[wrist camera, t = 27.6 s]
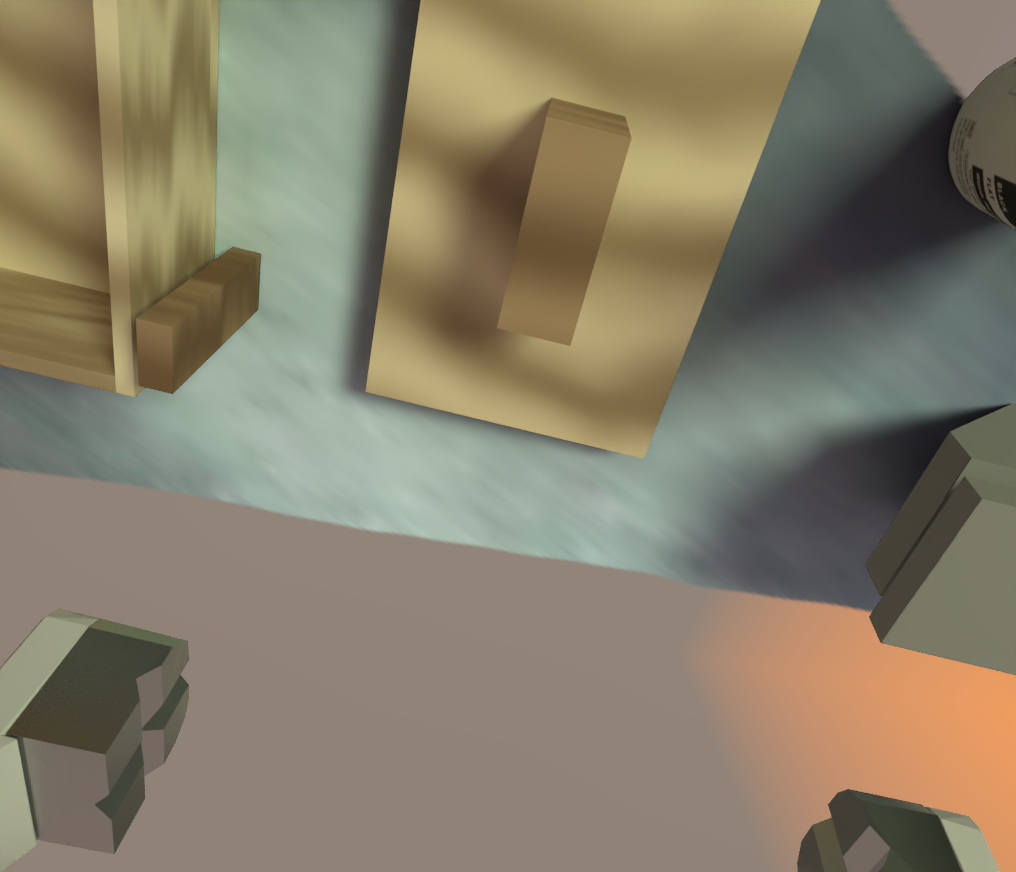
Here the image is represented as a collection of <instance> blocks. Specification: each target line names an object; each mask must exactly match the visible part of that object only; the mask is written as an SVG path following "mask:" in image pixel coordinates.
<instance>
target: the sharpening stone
mask: <svg viewBox="0 0 1016 872" xmlns="http://www.w3.org/2000/svg"><path fill="white" fill-rule="evenodd" d="M865 565H866V567H867V570H868V572H869V574H870V576H871V578H872V580H873V582H874V584H875V586H876V588H877V590H878V592H879V594H880V595H882V596H883V597H882V599H881V600H880V602H879V603H878V604H877V606H876V607H875V609H874V610H873V612H872V613H871V615H870V616H869V618H870V620H871V622H872V624H873V627H874V629H875V631H876V633H877V636H878V638H879V640H880V642H881V643H884V644H888V645H892V646H897V647H901V648H905V649H909V650H914V651H917V652H921V653H925V654H930V655H934V656H938V657H943V658H946V659H951V660H955V661H960V662H963V663H968V664H972V665H976V666H980V667H984V668H989V669H993V670H997V671H1001V672H1005V673H1009V674H1014V675H1016V404H1010V405H1008V406H1006V407H1004V408H1001V409H999V410H997V411H995V412H992V413H990V414H988V415H986V416H983V417H981V418H979V419H977V420H974V421H972V422H970V423H968V424H965V425H963V426H961V427H959V428H957V429H954V430H952V431H950V432H949V434H948V435H947V437H946V438H945V440H944V441H943V443H942V445H941V446H940V448H939V449H938V451H937V452H936V454H935V456H934V457H933V459H932V460H931V462H930V463H929V465H928V467H927V468H926V470H925V471H924V473H923V474H922V476H921V478H920V479H919V481H918V482H917V484H916V485H915V487H914V488H913V490H912V492H911V493H910V495H909V496H908V498H907V499H906V501H905V503H904V504H903V506H902V507H901V509H900V510H899V512H898V514H897V515H896V517H895V518H894V520H893V521H892V523H891V525H890V526H889V528H888V529H887V531H886V532H885V534H884V536H883V537H882V539H881V540H880V542H879V543H878V545H877V546H876V548H875V550H874V551H873V553H872V554H871V556H870V557H869V559H868V561H867V562H866V564H865Z"/></svg>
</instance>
